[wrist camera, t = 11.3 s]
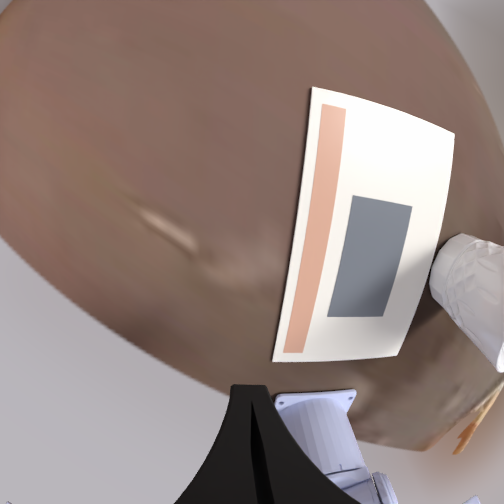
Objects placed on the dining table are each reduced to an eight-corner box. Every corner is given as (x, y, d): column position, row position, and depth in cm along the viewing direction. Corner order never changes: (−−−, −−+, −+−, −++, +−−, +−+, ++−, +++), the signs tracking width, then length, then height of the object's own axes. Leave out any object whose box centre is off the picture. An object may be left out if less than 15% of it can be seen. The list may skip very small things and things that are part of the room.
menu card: (395, 354, 22) (396, 355, 22) (272, 360, 21) (272, 362, 21) (452, 133, 16) (454, 134, 15) (311, 87, 15) (312, 86, 14)
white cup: (411, 308, 21) (479, 382, 11) (438, 219, 18) (534, 266, 9) (464, 307, 21) (524, 362, 12) (488, 232, 19) (564, 272, 9)
